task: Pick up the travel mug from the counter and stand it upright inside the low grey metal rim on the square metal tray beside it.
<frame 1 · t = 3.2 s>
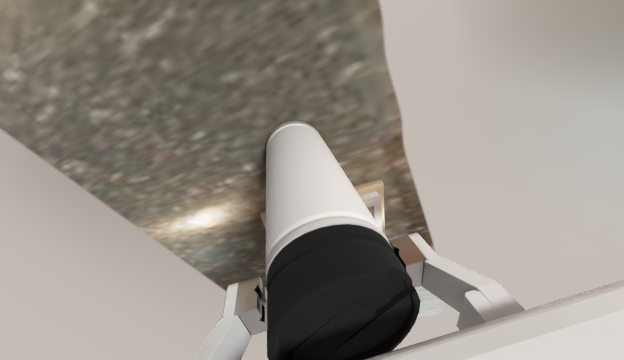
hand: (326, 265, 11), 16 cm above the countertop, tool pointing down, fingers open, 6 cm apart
travel mug: (293, 148, 25), on the countertop, touching gripper
square metal tray: (330, 239, 33), on the countertop
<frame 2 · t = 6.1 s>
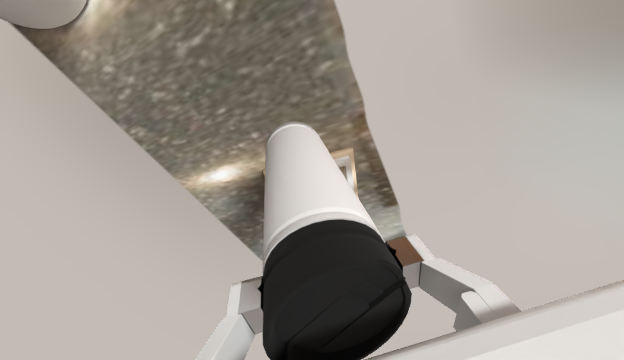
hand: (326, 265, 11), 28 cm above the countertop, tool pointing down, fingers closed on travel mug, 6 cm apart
travel mug: (292, 149, 26), point 12 cm above the countertop, touching gripper
square metal tray: (315, 195, 43), on the countertop
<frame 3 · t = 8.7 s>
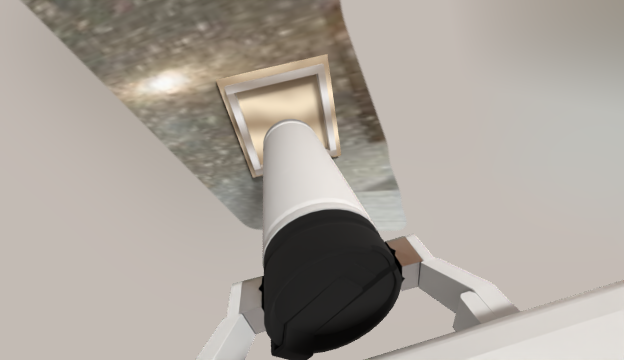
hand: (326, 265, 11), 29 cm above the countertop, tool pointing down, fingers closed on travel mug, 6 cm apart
travel mug: (289, 145, 26), point 12 cm above the countertop, touching gripper
square metal tray: (285, 121, 36), on the countertop
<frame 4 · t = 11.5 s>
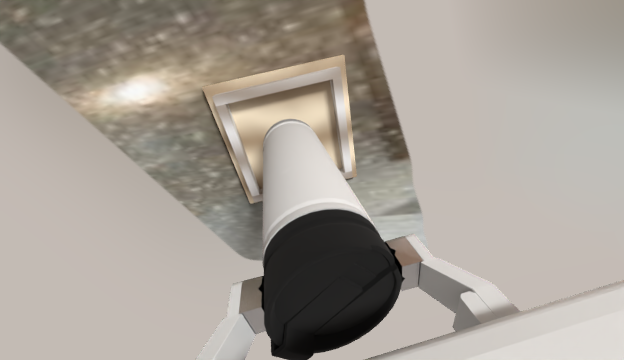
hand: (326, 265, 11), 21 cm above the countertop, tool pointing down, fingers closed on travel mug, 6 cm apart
travel mug: (289, 145, 26), point 4 cm above the countertop, touching gripper
square metal tray: (290, 136, 30), on the countertop
when the fingers open (17 cm above the countertop, at t = 14.0 s): travel mug stays where it is, resting on square metal tray.
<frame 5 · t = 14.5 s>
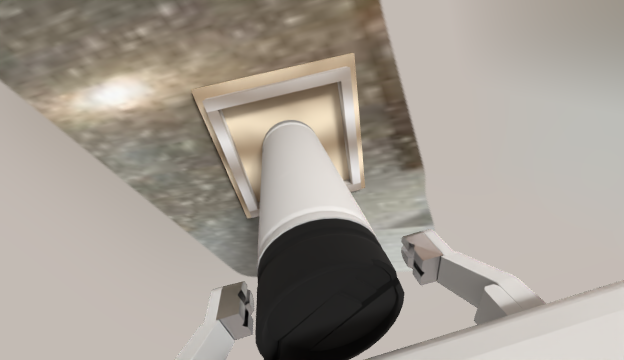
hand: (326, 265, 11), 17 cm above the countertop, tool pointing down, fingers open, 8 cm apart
travel mug: (289, 147, 26), point 1 cm above the countertop, touching square metal tray
square metal tray: (292, 145, 26), on the countertop
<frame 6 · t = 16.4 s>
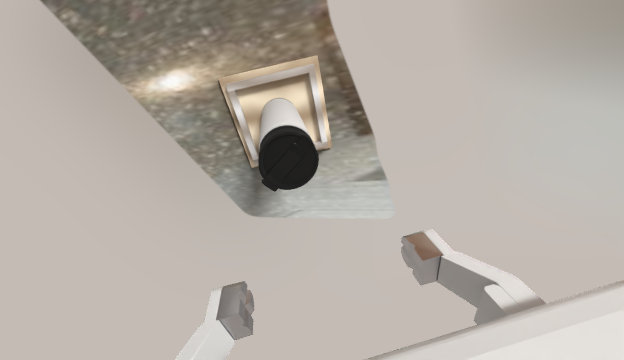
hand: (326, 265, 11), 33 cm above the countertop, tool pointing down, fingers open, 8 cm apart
travel mug: (279, 116, 40), point 1 cm above the countertop, touching square metal tray
square metal tray: (281, 115, 40), on the countertop
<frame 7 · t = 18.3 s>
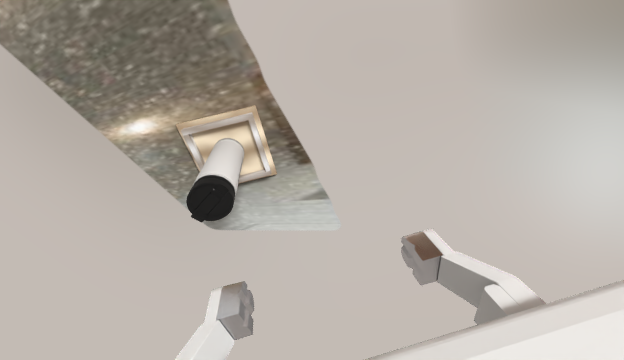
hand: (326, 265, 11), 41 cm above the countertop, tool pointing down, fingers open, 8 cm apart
travel mug: (229, 151, 49), point 1 cm above the countertop, touching square metal tray
square metal tray: (231, 150, 49), on the countertop
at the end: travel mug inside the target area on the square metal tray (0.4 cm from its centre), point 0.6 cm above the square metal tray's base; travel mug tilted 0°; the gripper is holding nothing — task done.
